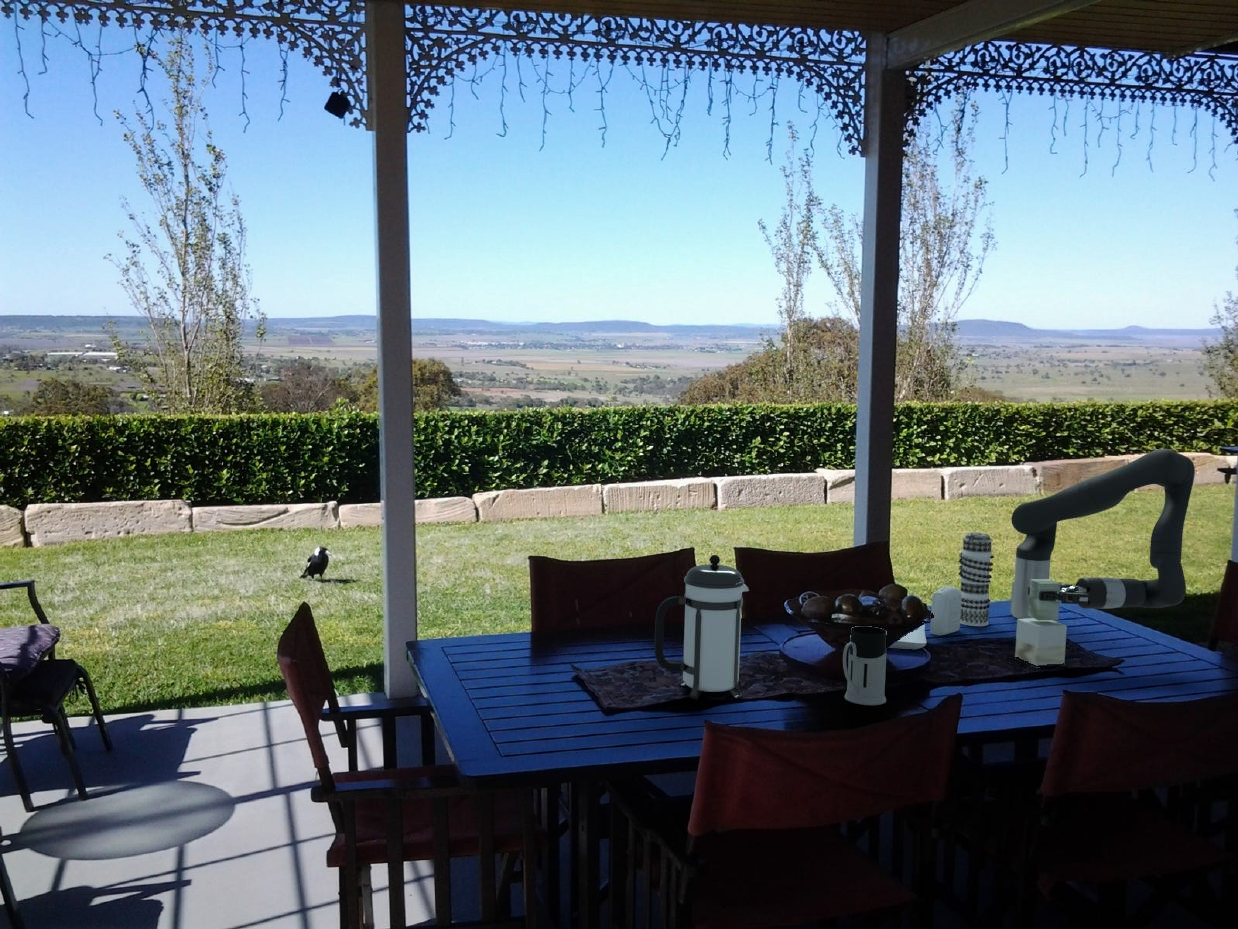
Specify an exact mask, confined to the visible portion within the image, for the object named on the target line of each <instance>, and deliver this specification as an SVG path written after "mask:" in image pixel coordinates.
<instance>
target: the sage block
mask: <svg viewBox="0 0 1238 929" xmlns="http://www.w3.org/2000/svg"><path fill="white" fill-rule="evenodd" d="M1058 582H1059V581H1055V580H1053V579H1050V578H1049V579H1030V595H1029V611H1028V616H1030V617H1032V618H1034V619H1036V620H1053V621H1059V610H1060V609H1059V608H1060V602H1056V601H1041V600H1039V592H1040V591H1055V592H1056V591H1060V583H1061V582H1060V583H1058Z"/></svg>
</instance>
